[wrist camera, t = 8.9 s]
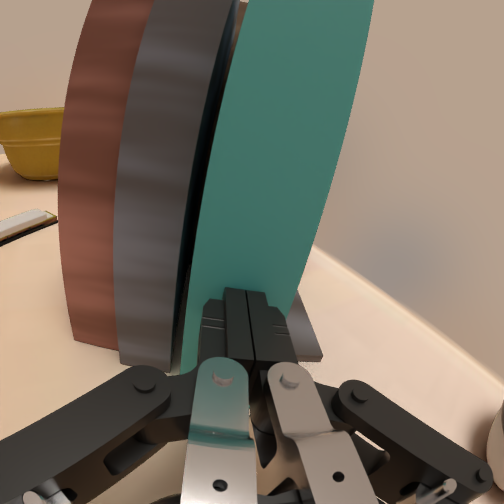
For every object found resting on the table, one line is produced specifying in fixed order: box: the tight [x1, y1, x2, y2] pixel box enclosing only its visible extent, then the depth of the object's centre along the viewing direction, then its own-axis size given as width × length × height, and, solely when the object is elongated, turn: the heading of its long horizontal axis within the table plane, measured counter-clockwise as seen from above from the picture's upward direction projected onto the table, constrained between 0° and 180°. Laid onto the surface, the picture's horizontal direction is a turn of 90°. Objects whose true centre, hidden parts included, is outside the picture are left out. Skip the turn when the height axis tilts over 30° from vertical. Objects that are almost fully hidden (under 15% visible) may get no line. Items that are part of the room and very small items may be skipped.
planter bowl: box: [0, 107, 64, 180], centre depth 43 cm, size 32×32×13 cm
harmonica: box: [0, 209, 58, 247], centre depth 22 cm, size 15×3×2 cm, turn 161°
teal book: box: [180, 0, 374, 408], centre depth 17 cm, size 16×4×20 cm, turn 7°
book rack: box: [58, 0, 323, 373], centre depth 17 cm, size 15×18×25 cm
